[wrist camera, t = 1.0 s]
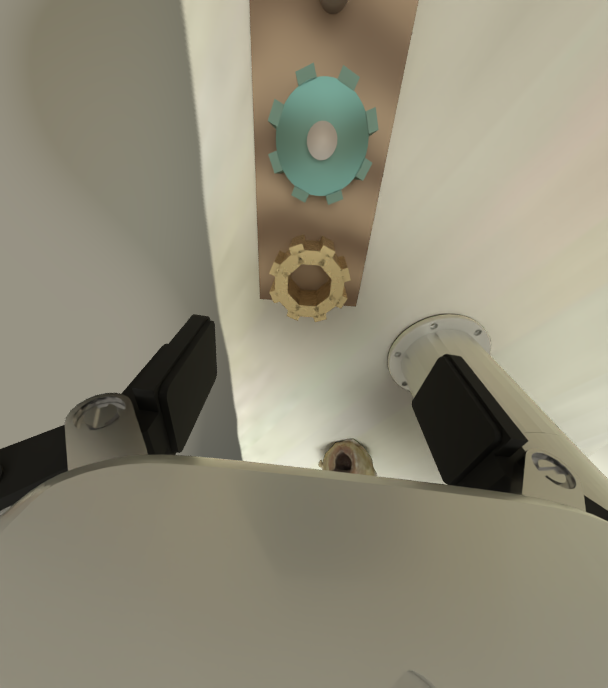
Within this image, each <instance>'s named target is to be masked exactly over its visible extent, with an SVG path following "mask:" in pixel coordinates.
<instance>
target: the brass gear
mask: <svg viewBox="0 0 608 688" xmlns="http://www.w3.org/2000/svg"><path fill="white" fill-rule="evenodd" d="M301 264H306V265H318V266H321V267H322V268H323V270H324V271H325V272H326V273H327V274H328V276H329V277H328V282H326V283H325V284H324V285H323V286H321V287H320V288H319V289H318V290H316V291H314V290H301V289H300V288H299V287H298V285H297V284H296V283H295V282H294V281H293V280H292V279H291V273H292V272H293V271H294V270H296V269H297V268H298V267H299V266H300V265H301ZM269 274H271V275H273V276H275V279H274V282H273V284H272V287H271V289H270V292H269V293H270V295H271V297H272V300H273V302H274V303H277V302H280V303H281V304H282V305H283V306H284V307H285V308H286V309H287V310H288V312H287V316H288V317H290V318H292V319H295V320H297V321H298V319H299V317H300V316H304V317H313V318H314V321H315V322H317V321H321V320H325V319H326V313H327V312H328V311H330V310H331V309H333V308H334V307H335V306H337V307H339V308H342V306H343V305H344V303H345V302H346V300H347V299H348V298H347V294H346V290H345V286H344V283H345V282H347V281H350V280H351V279H350V275H349V270H348V267H347V264H346V261H345V258H344V256H341V257H338V256H337V255H336V254H335V247H334V243H333V241H332V240H330V239H328V238H326V237H324V236H322V237H321V239H320V241H312V240H306V239H305V235H304V234H303V235H300V236H297V237H294V238H292V241H291V244H290V246H289V250H288V251H286V252H285V253H284V252H282V251H280V250H279V253H278V255H277V257H276V259H275V261H274V263H273V265H272V268H271V270H270V273H269Z"/></svg>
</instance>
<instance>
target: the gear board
mask: <svg viewBox="0 0 608 688" xmlns="http://www.w3.org/2000/svg"><path fill="white" fill-rule="evenodd" d="M418 1H419V0H250V28H251V56H252V84H253V113H254V141H255V169H256V198H257V226H258V254H259V282H260V299H269V300H272V297H271V295H270V293H269V292H270V289H271V287H272V284H273V282H274V279H275V276H273V275H271V274H269V273H270V270H271V268H272V265H273V263H274V261H275V259H276V257H277V255H278V253H279V250H280V251H282V252H284V253H285V252H286V251H288V250H289V246H290V244H291V241H292V238H294V237H297V236H300V235H303V234H304V235H305V239H306V240H312V241H320V239H321V237H322V236H324V237H326V238H328V239H330V240H332V241H333V243H334V247H335V254H336V255H337V256H338V257H341V256H344V258H345V261H346V264H347V267H348V270H349V275H350V279H351V280H350V281H347V282H345V283H344V286H345V290H346V294H347V298H348V299H347V300H346V302H345V303H344V306H356V304H357V299H358V294H359V289H360V284H361V279H362V274H363V269H364V265H365V260H366V255H367V250H368V245H369V240H370V235H371V230H372V225H373V221H374V216H375V211H376V206H377V201H378V196H379V191H380V186H381V182H382V177H383V172H384V167H385V162H386V157H387V152H388V147H389V142H390V138H391V133H392V128H393V123H394V118H395V113H396V108H397V103H398V98H399V94H400V89H401V84H402V79H403V74H404V69H405V64H406V59H407V54H408V50H409V45H410V40H411V35H412V30H413V25H414V20H415V15H416V10H417V6H418ZM328 277H329V276H328V274H327V273H326V272H325V271H324V270H323V268H322V267H321V266H318V265H306V264H301V265H300V266H299V267H298V268H297V269H296V270H294V271H293V272H292V273H291V279H292V280H293V281H294V282H295V283H296V284H297V285H298V287H299V288H300V289H301V290H314V291H316V290H318V289H319V288H320V287H321V286H323V285H324V284H325V283H326V282H328Z"/></svg>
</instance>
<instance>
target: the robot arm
mask: <svg viewBox="0 0 608 688" xmlns="http://www.w3.org/2000/svg"><path fill="white" fill-rule="evenodd" d="M490 352H491V340H490V337H489V335H488V333H487V331H486V330H485V329H484V328H483V327H482V326H481V325H480V324H479V323H477V322H476V321H475V320H473V319H471V318H469V317H466V316H462V315H454V314H446V315H437V316H434V317H430V318H427V319H424V320H422V321H420V322H417V323H416V324H414V325H412V326H411V327H409V328H408V329H407V330H405V331H404V332H403V333H402V334H401V335H400V336H399V337H398V338H397V339H396V340H395V342H394V343H393V345H392V347H391V349H390V352H389V354H388V369H389V371H390V374H391V376H392V378H393V380H394V381H395V382H396V383H397V384H398V385H399V386H401V387H402V388H404V389H406V390H408V391H411V393H412V395H413V398H414V399H413V401H412V407H413V410H414V412H415V415H416V417H417V420H418V422H419V424H420V427H421V429H422V432H423V434H424V436H425V439H426V441H427V444H428V446H429V448H430V451H431V453H432V456H433V458H434V460H435V463H436V465H437V468H438V470H439V472H440V475H441V477H442V479H443V481H444V482H445V483H446V484H447V485H444V484H436V483H428V482H419V481H411V480H403V479H395V478H386V477H378V476H369V475H361V474H352V473H344V472H335V471H327V470H318V469H309V468H300V467H292V466H283V465H274V464H265V463H256V462H247V461H237V460H226V459H217V458H206V457H196V456H182V455H175V454H176V452H179V453H180V452H182V450H183V448H184V446H185V444H186V442H187V440H188V438H189V436H190V433H191V431H192V429H193V427H194V425H195V423H196V420H197V418H198V416H199V414H200V411H201V410H202V408H203V405H204V403H205V401H206V399H207V397H208V394H209V393H210V390H211V388H212V386H213V384H214V382H215V379H216V376H217V365H216V364H217V363H216V343H215V324H214V321H210V318H209V317H208V316H201V315H192V316H191V317H190V319H189V320H188V321H187V323H185V325H184V326H183V327H182V328H181V329H180V331H179V332H178V333H177V334H176V335H175V337H174V338H173V339H172V340H171V342H170V343H169V344H164V345H163V346H162V347H161V348H160V349H159V350H158V352H157V353H156V354H155V355H154V356H153V357H152V359H151V360H150V361H149V362H148V363H147V365H146V366H145V367H144V368H143V369H142V370H141V372H140V373H139V374H138V375H137V376H136V377H135V379H134V380H133V381H132V382H131V383H130V384H129V386H128V387H127V388H126V389H125V390H124V391H123V393H122V394H120V393H104V394H99V395H95V396H93V397H90V398H88V399H86V400H84V401H83V402H81V403H79V404H77V405H76V406H75V407H74V408H73V409H72V410H71V411H70V412H69V414H68V415H67V417H66V420H65V425H63V426H60V427H57V428H55V429H52V430H50V431H47V432H44V433H42V434H39V435H37V436H34V437H31V438H29V439H26V440H23V441H21V442H18V443H15V444H13V445H10V446H8V447H5V448H2V449H0V688H608V478H607V477H606V476H604V474H603V473H602V472H601V471H600V470H599V469H598V468H597V467H596V466H595V465H594V464H593V463H592V462H591V461H590V460H589V459H588V458H587V457H586V456H585V455H584V454H583V453H582V452H581V451H580V450H579V448H578V447H577V446H576V445H575V444H574V443H573V442H572V441H571V440H570V439H569V438H568V437H567V436H566V435H565V434H564V433H563V432H562V431H561V430H560V429H559V428H558V426H557V425H556V424H555V423H554V422H553V421H552V420H551V419H550V418H549V417H548V416H547V415H546V414H545V413H544V412H543V411H542V410H541V409H540V407H539V406H538V405H537V404H536V403H535V402H534V401H533V400H532V399H531V398H530V397H529V396H528V395H527V394H526V393H525V392H524V391H523V390H522V389H521V388H520V386H519V385H518V384H517V383H516V382H515V381H514V380H513V379H512V378H511V377H510V376H509V375H508V374H507V373H506V372H505V371H504V370H503V369H502V368H501V367H500V365H499V364H498V363H497V362H496V361H495V360H494V359H493V358H492V357H491V356H490Z"/></svg>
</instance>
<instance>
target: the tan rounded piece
mask: <svg viewBox="0 0 608 688" xmlns="http://www.w3.org/2000/svg"><path fill="white" fill-rule="evenodd" d="M318 465H319V467H321V468H322V470H327V471H335V472H344V473H352V474H361V475H369V476H377V473H376V471H375V470H374V467H373V462H372V459H371V456H370V455H369V454H368V453H367V451H366V450H365V448H364V447H363V446H361V445H360V444H359V443H358V442H357V441H355V440H354V439H351V440H349V439H346V440H345V441H342V442H336V443H335V444H334V445H333V447H332V448H330V450H329V451H328V452H326V453H325V457H324V459H323V462H322V460H320V462H319V464H318Z"/></svg>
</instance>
